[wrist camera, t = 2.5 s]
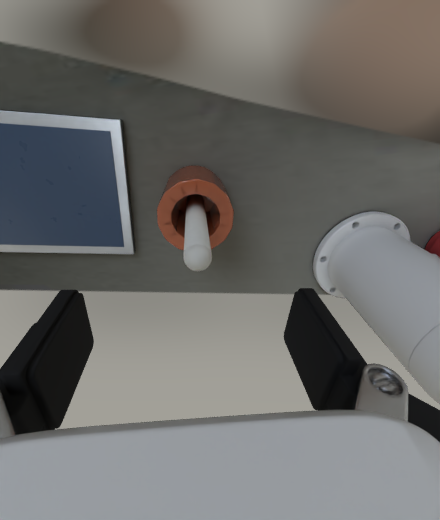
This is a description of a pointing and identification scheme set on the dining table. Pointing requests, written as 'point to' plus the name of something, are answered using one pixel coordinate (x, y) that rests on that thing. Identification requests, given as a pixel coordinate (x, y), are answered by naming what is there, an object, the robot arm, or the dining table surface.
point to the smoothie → (434, 245)
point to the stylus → (196, 235)
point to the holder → (174, 205)
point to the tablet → (63, 185)
